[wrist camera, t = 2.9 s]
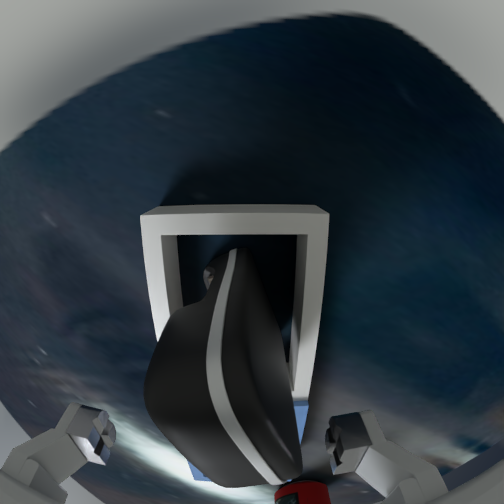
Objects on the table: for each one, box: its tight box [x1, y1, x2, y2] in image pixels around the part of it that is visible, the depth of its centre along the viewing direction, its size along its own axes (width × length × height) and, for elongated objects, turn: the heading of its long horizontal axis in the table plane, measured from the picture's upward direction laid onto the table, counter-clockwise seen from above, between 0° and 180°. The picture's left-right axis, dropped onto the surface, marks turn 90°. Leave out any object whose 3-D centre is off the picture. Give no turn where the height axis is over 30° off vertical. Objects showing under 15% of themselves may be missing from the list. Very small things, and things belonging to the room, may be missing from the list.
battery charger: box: [144, 248, 303, 488], centre depth 12 cm, size 7×4×11 cm, turn 20°
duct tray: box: [140, 204, 329, 482], centre depth 18 cm, size 9×24×4 cm, turn 0°
